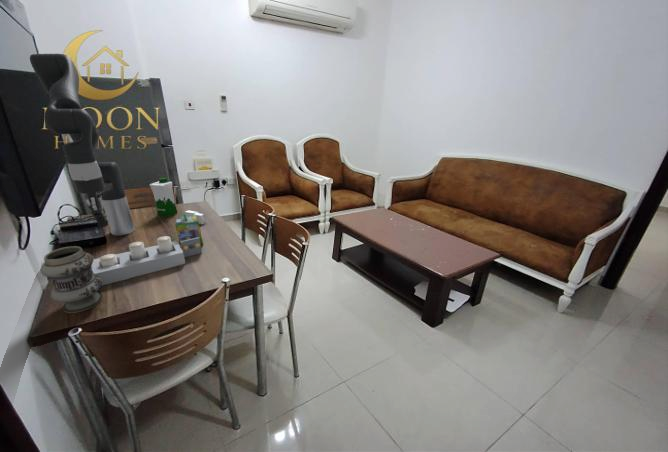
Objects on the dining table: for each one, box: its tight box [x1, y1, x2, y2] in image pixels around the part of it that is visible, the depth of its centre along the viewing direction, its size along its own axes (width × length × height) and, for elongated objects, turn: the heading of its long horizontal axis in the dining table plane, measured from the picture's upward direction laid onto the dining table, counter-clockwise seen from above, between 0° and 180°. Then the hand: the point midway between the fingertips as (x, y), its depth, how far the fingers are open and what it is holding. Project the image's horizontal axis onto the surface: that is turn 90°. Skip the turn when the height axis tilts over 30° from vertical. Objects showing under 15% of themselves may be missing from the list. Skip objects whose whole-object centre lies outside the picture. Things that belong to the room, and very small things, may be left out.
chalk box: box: [174, 211, 204, 249], centre depth 128 cm, size 9×9×15 cm
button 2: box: [128, 241, 146, 259], centre depth 108 cm, size 5×5×5 cm
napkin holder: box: [184, 209, 206, 225], centre depth 152 cm, size 15×11×6 cm
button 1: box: [99, 253, 118, 268], centre depth 104 cm, size 5×5×5 cm
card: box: [180, 237, 203, 258], centre depth 119 cm, size 1×7×7 cm, turn 126°
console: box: [91, 240, 186, 286], centre depth 110 cm, size 12×28×5 cm, turn 126°
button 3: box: [156, 235, 173, 253], centre depth 113 cm, size 5×5×5 cm
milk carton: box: [149, 177, 178, 218], centre depth 157 cm, size 9×9×20 cm
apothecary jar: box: [40, 245, 104, 314], centre depth 88 cm, size 12×12×18 cm
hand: (102, 226), depth 99 cm, fingers closed
